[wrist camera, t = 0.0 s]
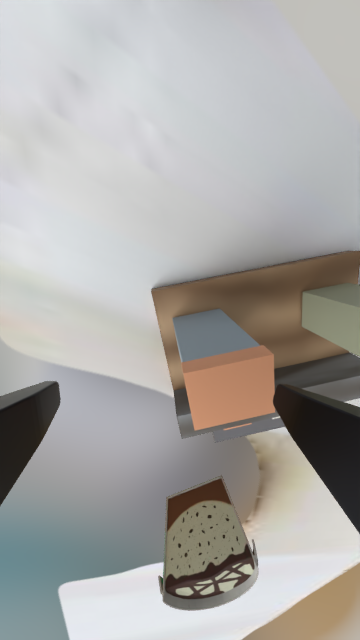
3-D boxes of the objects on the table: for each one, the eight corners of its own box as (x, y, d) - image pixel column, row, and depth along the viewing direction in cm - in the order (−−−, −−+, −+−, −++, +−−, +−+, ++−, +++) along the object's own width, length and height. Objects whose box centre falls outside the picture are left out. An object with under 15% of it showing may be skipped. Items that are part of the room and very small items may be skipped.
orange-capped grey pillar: (170, 317, 21) (183, 373, 11) (220, 307, 21) (273, 354, 12) (178, 353, 22) (194, 430, 13) (224, 343, 23) (275, 412, 13)
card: (206, 395, 27) (207, 397, 26) (308, 372, 27) (311, 374, 27) (213, 440, 29) (214, 443, 29) (306, 418, 30) (309, 421, 30)
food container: (172, 521, 34) (179, 624, 25) (157, 500, 32) (158, 603, 23) (241, 494, 34) (273, 588, 25) (230, 471, 32) (261, 564, 23)
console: (151, 289, 22) (150, 301, 16) (348, 250, 23) (405, 250, 17) (176, 402, 27) (181, 438, 21) (337, 366, 28) (378, 393, 22)
